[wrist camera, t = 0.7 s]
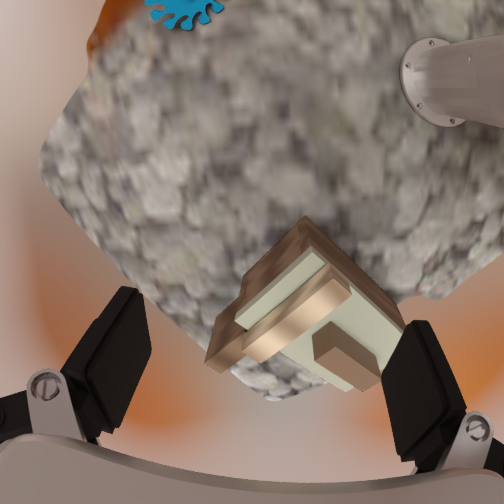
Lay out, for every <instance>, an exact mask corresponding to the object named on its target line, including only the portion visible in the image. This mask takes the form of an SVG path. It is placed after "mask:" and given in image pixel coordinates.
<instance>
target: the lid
mask: <svg viewBox="0 0 504 504" xmlns="http://www.w3.org/2000/svg"><path fill="white" fill-rule="evenodd" d="M328 263H330V262H329V261H328V260H327V259H326V258H324V257H323V256H322V255H321V254H320V253H319V252H318V251H317V250H315V249H314V248H313V247H312V246H310V247H309V248H308V249H307V250H306V251H305V252H304V253H303V254H301V255H300V256H299V257H298V258H297V259H296V260H295V261H294V262H293V263H292V264H291V265H289V266H288V267H287V268H286V269H285V270H284V271H283V272H282V273H281V274H280V275H278V276H277V277H276V278H275V279H274V280H273V281H272V282H271V283H270V284H269V285H267V286H266V287H265V288H264V289H263V290H262V291H261V292H260V293H258V294H257V295H256V296H255V297H254V298H253V299H252V300H251V301H249V302H248V303H247V304H246V305H245V306H244V307H243V308H242V309H240V310H239V311H238V312H237V313H236V316H235V322H237V323H238V324H239V325H241V326H242V327H244V328H245V329H247V330H248V331H249V330H250V329H251V328H252V327H254V326H255V325H256V324H257V323H259V322H260V321H261V320H262V319H264V318H265V317H266V316H267V315H268V314H270V313H271V312H272V311H273V310H274V309H276V308H277V307H278V306H279V305H281V304H282V303H283V302H284V301H285V300H286V299H288V298H289V297H290V296H291V295H292V294H294V293H295V292H296V291H297V290H298V289H299V288H301V287H302V286H303V285H304V284H305V283H306V282H308V281H309V280H310V279H311V278H312V277H313V276H315V275H316V274H317V273H318V272H319V271H320V270H321V269H323V268H324V267H325V266H326V265H327V264H328ZM330 264H331V263H330ZM331 265H332V264H331ZM332 266H333V265H332ZM333 267H334V266H333ZM334 268H336V267H334ZM336 269H337V268H336ZM337 270H338V269H337ZM338 271H339V270H338ZM339 272H340V271H339ZM340 273H341V272H340ZM341 274H342V273H341ZM342 275H343V274H342ZM343 276H344V275H343ZM344 277H345V276H344ZM347 280H348V283H349V286H350V289H351V293H352V295H351V296H350V297H349V298H348V299H346V300H345V301H344V302H343V303H342V304H340V305H339V306H338V307H336V308H335V309H334V310H333V311H331V312H330V313H329V314H328V315H326V316H325V317H324V318H322V319H321V320H320V321H318V322H317V323H316V324H315V325H313V326H312V327H311V328H309V329H308V330H307V331H305V332H304V333H303V334H301V335H300V336H299V337H297V338H296V339H294V340H293V341H292V342H290V343H289V344H288V345H286V346H285V347H283V348H282V349H281V350H279V351H280V352H281V353H283V354H285V355H286V356H288V357H289V358H291V359H292V360H294V361H295V362H297V363H299V364H300V365H302V366H303V367H305V368H307V369H308V370H310V371H311V372H313V373H315V374H316V375H318V376H319V377H321V378H323V379H324V380H326V381H328V382H329V383H331V384H333V385H334V386H336V387H338V388H339V389H341V390H343V391H345V392H347V391H348V390H350V389H352V388H353V387H356V388H357V389H359V390H361V391H362V392H364V391H365V390H367V389H369V388H370V387H372V386H373V385H375V384H377V383H378V382H380V381H381V373H380V370H382V369H384V368H385V366H386V365H387V363H388V361H389V359H390V357H391V355H392V353H393V351H394V349H395V348H396V346H397V344H398V342H399V340H400V338H401V336H402V334H403V332H404V331H403V330H402V329H401V328H400V327H399V326H398V325H397V324H395V323H394V322H393V321H392V320H391V319H390V318H389V317H388V316H387V315H386V314H385V313H384V312H383V311H382V310H381V309H380V308H379V307H378V306H377V305H376V304H374V303H373V302H372V301H371V300H370V299H369V298H368V297H367V296H366V295H365V294H364V293H363V292H362V291H361V290H360V289H358V288H357V287H356V286H355V285H354V284H353V283H352V282H351V281H350V280H349V279H348V278H347Z"/></svg>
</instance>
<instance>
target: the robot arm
mask: <svg viewBox="0 0 504 504" xmlns="http://www.w3.org/2000/svg"><path fill="white" fill-rule="evenodd" d="M429 43H430V44H429ZM405 64H406V65H407V68H406V65H405ZM400 81H401V86H402V89H403V92H404V95H405V97H406V99H407V100H408V102H409V104H410V105H411V107H412V108H413V109H414V111H415V112H416V113H417V114H418V115H420V116H421V117H422V118H423V119H425V120H426V121H428V122H430V123H432V124H435V125H438V126H443V127H454V126H457V125H459V124H462V123H463V122H465V121H466V120H470V121H475V122H479V123H484V124H488V125H492V126H496V127H500V128H504V34H500V35H494V36H489V37H483V38H477V39H472V40H467V41H462V42H457V43H453V44H451V43H449V42H447V41H444V40H441V39H437V38H426V39H422V40H419V41H417V42H415V43H413V44H412V45H411V46H410V47H409V48H408V49H407V50H406V52H405V53H404V55H403V58H402V60H401V65H400ZM417 104H418V107H417ZM151 349H152V348H151V341H150V336H149V330H148V325H147V319H146V312H145V305H144V299H143V295H142V294H141V293H139V291H138V289H137V288H132V287H126V286H121V287H120V288H119V290H118V291H117V292H116V294H115V295H114V296H113V298H112V299H111V300H110V302H109V303H108V305H107V306H106V307H105V309H104V310H103V312H102V313H101V314H100V316H99V317H98V318H97V319H95V320H94V321H93V323H92V324H91V325H90V327H89V328H88V330H87V331H86V333H85V334H84V336H83V337H82V338H81V340H80V341H79V343H78V344H77V346H76V347H75V349H74V350H73V352H72V353H71V355H70V356H69V358H68V359H67V361H66V363H65V364H64V366H63V367H62V369H61V370H60V372H59V371H57V370H55V369H43V370H40V371H38V372H36V373H35V374H33V375H32V377H31V378H30V379H29V381H28V384H27V390H25V391H21V392H18V393H15V394H12V395H9V396H6V397H2V398H0V504H504V444H502V443H501V442H499V441H497V440H496V439H495V438H493V426H492V423H491V421H490V420H489V418H488V417H487V416H485V415H484V414H483V413H480V412H477V411H472V412H469V413H468V414H466V411H465V410H466V408H467V407H466V404H465V402H464V399H463V396H462V394H461V392H460V389H459V387H458V384H457V382H456V379H455V377H454V375H453V372H452V370H451V368H450V365H449V363H448V361H447V359H446V357H445V354H444V352H443V350H442V348H441V346H440V344H439V342H438V340H437V338H436V335H435V333H434V331H433V329H432V327H431V325H430V323H429V322H428V321H426V320H413V321H412V322H411V323H410V324H407V326H406V327H405V329H404V332H403V334H402V336H401V338H400V340H399V342H398V344H397V346H396V348H395V349H394V351H393V353H392V355H391V357H390V359H389V361H388V363H387V365H386V366H385V368H384V370H383V372H382V375H381V382H382V387H383V391H384V395H385V399H386V403H387V408H388V413H389V417H390V422H391V427H392V432H393V437H394V442H395V447H396V452H397V454H398V455H400V457H401V461H402V462H407V461H413V460H414V461H415V467H414V469H413V471H412V472H411V474H410V475H409V476H401V477H395V478H386V479H378V480H368V481H356V482H336V483H290V482H289V483H288V482H271V481H259V480H248V479H239V478H231V477H224V476H217V475H211V474H205V473H199V472H194V471H189V470H184V469H180V468H175V467H170V466H166V465H162V464H158V463H154V462H151V461H147V460H143V459H139V458H136V457H132V456H129V455H126V454H122V453H119V452H116V451H112V450H110V449H107V448H104V447H102V446H101V444H100V441H99V439H98V437H99V436H100V433H101V431H104V432H107V433H110V434H113V431H114V429H115V428H119V427H120V425H121V423H122V421H123V418H124V416H125V413H126V411H127V408H128V406H129V404H130V401H131V399H132V396H133V394H134V392H135V390H136V387H137V385H138V383H139V380H140V378H141V376H142V373H143V371H144V369H145V367H146V365H147V362H148V360H149V358H150V355H151Z"/></svg>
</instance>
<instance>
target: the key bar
mask: <svg viewBox="0 0 504 504" xmlns="http://www.w3.org/2000/svg"><path fill="white" fill-rule="evenodd" d="M351 295H352V293H351V289H350V286H349V283H348V280H347V278H346V277H344V276H343V275H342V274H341V273H340V272H339V271H338V270H337V269H336V268H334V267H333V266H332V265H331V264H330V263H328V264H327V265H326V266H325V267H324V268H323V269H321V270H320V271H319V272H318V273H317V274H316V275H315V276H313V277H312V278H311V279H310V280H309V281H308V282H306V283H305V284H304V285H303V286H302V287H301V288H299V289H298V290H297V291H296V292H295V293H294V294H292V295H291V296H290V297H289V298H288V299H286V300H285V301H284V302H283V303H282V304H281V305H279V306H278V307H277V308H276V309H274V310H273V311H272V312H271V313H270V314H268V315H267V316H266V317H265V318H264V319H262V320H261V321H260V322H259V323H257V324H256V325H255V326H254V327H252V328H251V329H250V330H249V331H248V332H246V333H245V334H244V337H243V344H242V351H241V352H243V353H245V354H246V355H248V356H249V357H251V358H253V359H254V360H256V361H257V362H259V363H262V362H263V361H265V360H266V359H268V358H269V357H271V356H272V355H273V354H275V353H276V352H278V351H279V350H281V349H282V348H283V347H285V346H286V345H288V344H289V343H290V342H292V341H293V340H294V339H296V338H297V337H299V336H300V335H301V334H303V333H304V332H305V331H307V330H308V329H309V328H311V327H312V326H313V325H315V324H316V323H317V322H318V321H320V320H321V319H322V318H324V317H325V316H326V315H328V314H329V313H330V312H331V311H333V310H334V309H335V308H336V307H338V306H339V305H340V304H342V303H343V302H344V301H345V300H346V299H348V298H349V297H350V296H351Z"/></svg>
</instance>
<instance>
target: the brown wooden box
mask: <svg viewBox="0 0 504 504" xmlns="http://www.w3.org/2000/svg"><path fill="white" fill-rule="evenodd" d="M310 246H312V247H313V248H314V249H315V250H317V251H318V252H319V253H320V254H321V255H322V256H323V257H324V258H326V259H327V260H328V261H329V262H330V263H331V264H332V265H333V266H334V267H336V268H337V269H338V270H339V271H340V272H341V273H342V274H343V275H344V276H345V277H346V278H348V279H349V280H350V281H351V282H352V283H353V284H354V285H355V286H356V287H357V288H358V289H360V290H361V291H362V292H363V293H364V294H365V295H366V296H367V297H368V298H369V299H370V300H371V301H372V302H373V303H374V304H376V305H377V306H378V307H379V308H380V309H381V310H382V311H383V312H384V313H385V314H386V315H387V316H388V317H389V318H390V319H391V320H392V321H393V322H394V323H395V324H397V325H398V326H399V327H400V328H401V329H402V330H403V331H404V329H405V327H406V325H405V323H404V320H403V318H402V316H401V314H400V312H399V310H398V307H397V305H396V303H395V302H394V301H393V300H392V299H391V298H390V297H389V296H388V295H387V294H386V293H385V292H384V291H383V290H382V289H381V288H380V287H379V286H378V285H377V284H376V283H375V282H374V281H373V280H372V279H371V278H370V277H369V276H368V275H367V274H366V273H365V272H364V271H363V270H362V269H361V268H360V267H359V266H358V265H357V264H356V263H355V262H354V261H353V260H352V259H351V258H350V257H349V256H347V255H346V254H345V253H344V252H343V251H342V250H341V249H340V248H339V247H338V246H337V245H336V244H335V243H334V242H333V241H332V240H331V239H329V238H328V237H327V236H326V235H325V234H324V233H323V232H322V231H321V230H320V229H319V228H318V227H316V226H315V225H314V224H313V223H312V222H311V221H310V220H309V219H308V218H307V217H305V216H304V217H303V218H302V219H301V220H300V221H299V222H298V223H297V224H296V225H295V226H294V227H293V228H292V229H291V230H290V231H289V232H288V233H287V234H286V235H285V236H284V237H283V238H282V239H281V240H280V241H279V242H278V243H277V244H276V245H275V246H274V247H273V248H272V249H271V250H269V251H268V252H267V253H266V254H265V255H264V256H263V257H262V258H261V259H260V260H259V261H258V262H257V263H256V264H255V265H254V266H253V267H252V268H251V269H250V270H249V271H248V272H247V273H246V274H245V275H244V276H243V280H242V285H241V290H240V295H239V297H238V298H237V299H236V300H235V301H234V302H233V303H232V304H231V305H229V306H228V307H227V308H226V309H225V310H224V311H223V312H222V313H221V314H220V315H219V316H217V317H216V321H215V324H214V328H213V332H212V336H211V339H210V343H209V347H208V350H207V355H206V358H205V362H204V364H206V365H208V366H209V367H211V368H212V369H214V370H216V371H217V372H219V373H222V372H223V371H225V370H226V369H228V368H229V367H231V366H232V365H234V364H235V363H236V362H238V361H239V360H240V359H242V358H243V357H245V356H246V354H245V353H243V352H241V351H242V344H243V337H244V334H245V333H246V332H248V330H247V329H245V328H244V327H242V326H241V325H239V324H238V323H237V322H235V316H236V313H237V312H238V311H239V310H240V309H242V308H243V307H244V306H245V305H246V304H247V303H248V302H249V301H251V300H252V299H253V298H254V297H255V296H256V295H257V294H258V293H260V292H261V291H262V290H263V289H264V288H265V287H266V286H267V285H269V284H270V283H271V282H272V281H273V280H274V279H275V278H276V277H277V276H278V275H280V274H281V273H282V272H283V271H284V270H285V269H286V268H287V267H288V266H289V265H291V264H292V263H293V262H294V261H295V260H296V259H297V258H298V257H299V256H300V255H301V254H303V253H304V252H305V251H306V250H307V249H308V248H309V247H310Z"/></svg>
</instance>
